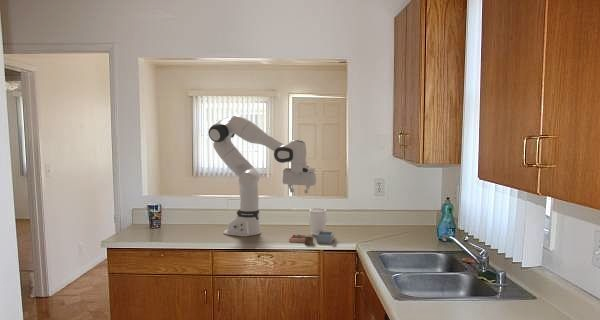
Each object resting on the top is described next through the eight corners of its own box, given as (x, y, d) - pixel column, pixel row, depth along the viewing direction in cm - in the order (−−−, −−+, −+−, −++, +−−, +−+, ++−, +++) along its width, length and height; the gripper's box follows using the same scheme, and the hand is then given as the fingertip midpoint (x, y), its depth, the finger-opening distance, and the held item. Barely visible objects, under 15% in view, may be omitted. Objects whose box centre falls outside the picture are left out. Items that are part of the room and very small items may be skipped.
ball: (295, 240, 237) (295, 235, 237) (296, 239, 240) (296, 233, 240) (300, 240, 236) (300, 235, 236) (301, 239, 239) (302, 233, 239)
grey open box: (316, 243, 233) (316, 234, 233) (319, 239, 241) (319, 231, 241) (331, 244, 231) (331, 235, 231) (333, 240, 239) (333, 232, 239)
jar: (324, 236, 248) (325, 211, 247) (307, 235, 250) (307, 210, 249) (327, 232, 258) (327, 208, 257) (310, 231, 260) (310, 207, 259)
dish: (289, 242, 235) (289, 238, 234) (292, 238, 243) (292, 234, 243) (304, 243, 233) (305, 239, 233) (307, 239, 242) (307, 235, 242)
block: (304, 245, 229) (304, 236, 229) (306, 243, 233) (306, 234, 233) (311, 246, 229) (312, 236, 228) (313, 244, 232) (313, 235, 232)
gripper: (280, 168, 241) (280, 192, 242) (311, 169, 230) (312, 194, 231) (286, 167, 246) (286, 191, 247) (317, 168, 236) (317, 193, 237)
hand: (299, 192), depth 239 cm, fingers open, 8 cm apart
